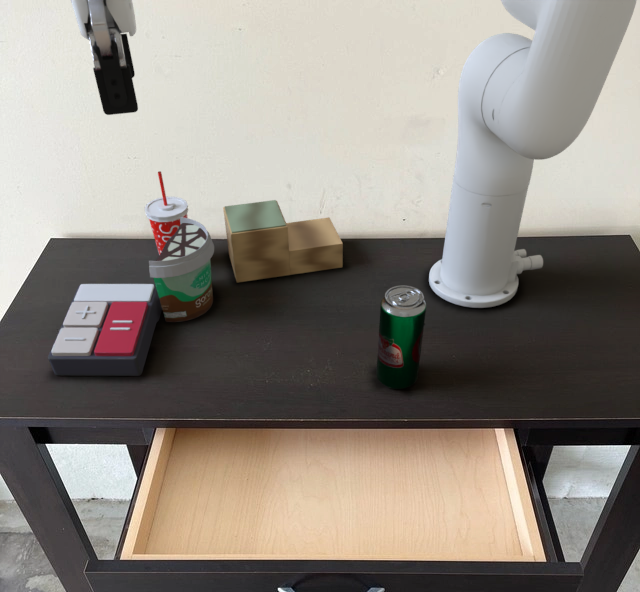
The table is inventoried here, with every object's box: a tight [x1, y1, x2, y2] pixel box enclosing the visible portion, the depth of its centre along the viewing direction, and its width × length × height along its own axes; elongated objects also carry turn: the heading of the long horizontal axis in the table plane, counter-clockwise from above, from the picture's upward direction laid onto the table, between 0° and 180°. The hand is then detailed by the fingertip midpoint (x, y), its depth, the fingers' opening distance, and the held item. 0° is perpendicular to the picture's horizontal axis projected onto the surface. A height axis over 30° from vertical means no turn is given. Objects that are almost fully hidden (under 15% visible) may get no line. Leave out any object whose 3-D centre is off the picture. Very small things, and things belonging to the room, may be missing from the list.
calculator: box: [47, 283, 163, 377], centre depth 86 cm, size 11×4×15 cm
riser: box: [222, 199, 344, 283], centre depth 97 cm, size 16×8×8 cm, turn 104°
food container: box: [148, 217, 215, 323], centre depth 89 cm, size 12×6×10 cm, turn 168°
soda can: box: [375, 284, 427, 390], centre depth 77 cm, size 5×5×12 cm
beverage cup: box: [144, 171, 189, 256], centre depth 95 cm, size 6×6×14 cm
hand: (120, 94), depth 66 cm, fingers open, 9 cm apart
